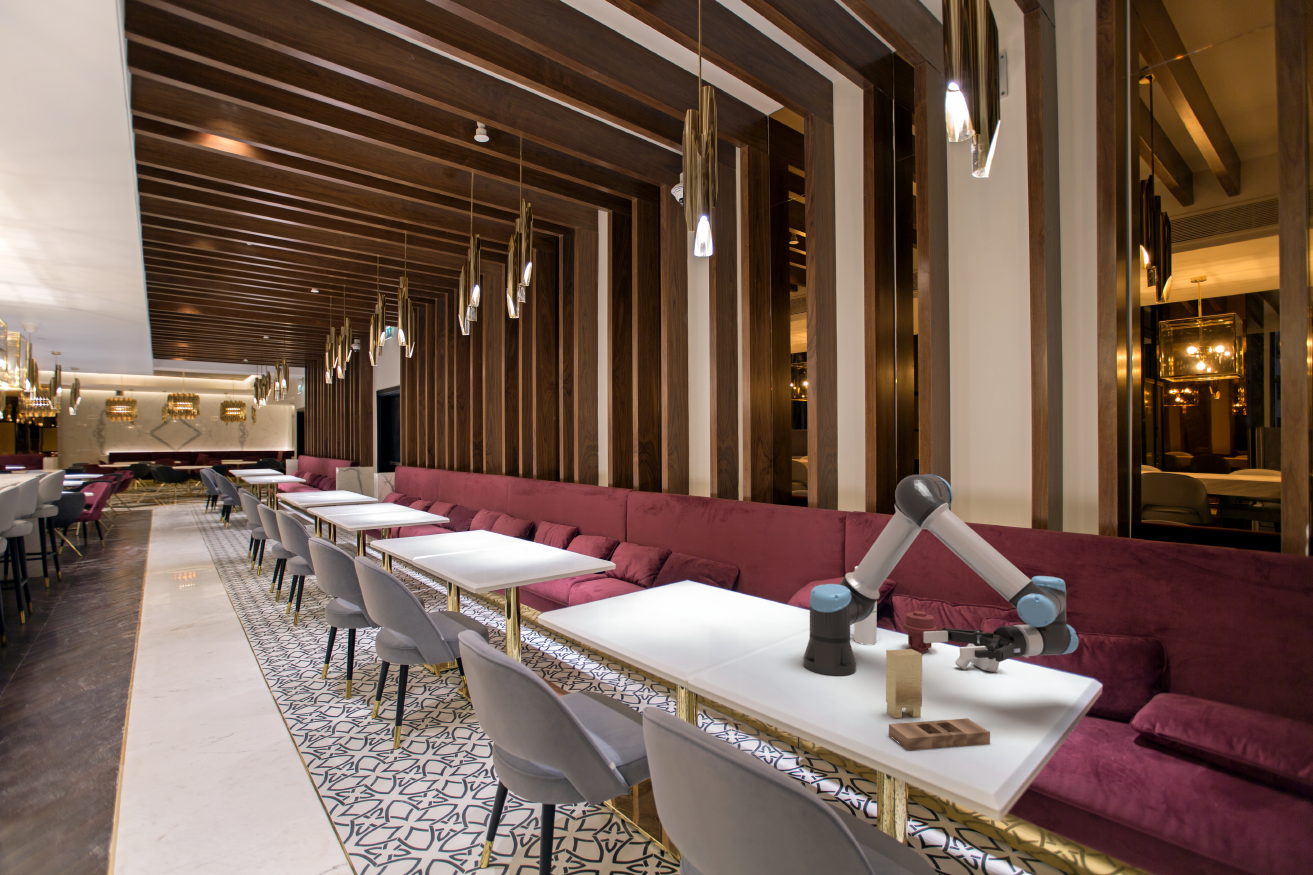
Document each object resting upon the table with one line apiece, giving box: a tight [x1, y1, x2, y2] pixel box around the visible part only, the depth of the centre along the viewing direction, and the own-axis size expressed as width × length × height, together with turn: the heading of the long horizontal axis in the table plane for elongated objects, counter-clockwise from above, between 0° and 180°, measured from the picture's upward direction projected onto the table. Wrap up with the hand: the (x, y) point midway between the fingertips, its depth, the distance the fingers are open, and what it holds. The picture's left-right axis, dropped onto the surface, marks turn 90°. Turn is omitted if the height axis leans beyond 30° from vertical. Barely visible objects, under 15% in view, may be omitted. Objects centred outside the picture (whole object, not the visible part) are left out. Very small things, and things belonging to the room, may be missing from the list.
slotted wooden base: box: [888, 718, 991, 751], centre depth 133 cm, size 20×7×2 cm, turn 101°
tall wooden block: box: [885, 648, 923, 719], centre depth 146 cm, size 7×4×15 cm, turn 101°
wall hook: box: [954, 641, 1000, 673], centre depth 180 cm, size 8×10×10 cm
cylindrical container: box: [853, 565, 878, 645], centre depth 206 cm, size 7×7×25 cm
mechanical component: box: [902, 610, 938, 655], centre depth 197 cm, size 12×10×10 cm
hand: (941, 645), depth 148 cm, fingers open, 13 cm apart
